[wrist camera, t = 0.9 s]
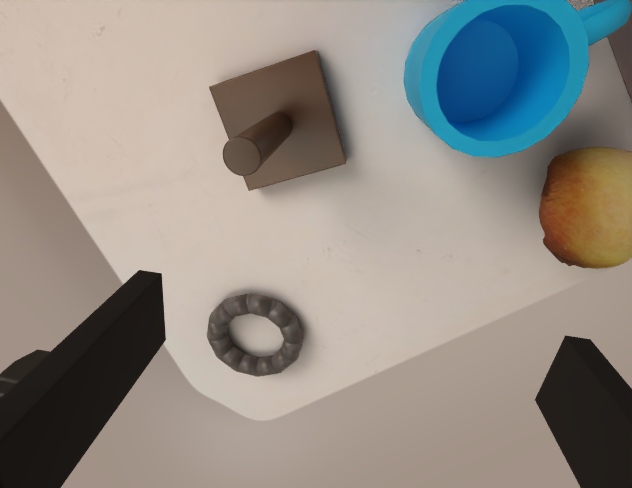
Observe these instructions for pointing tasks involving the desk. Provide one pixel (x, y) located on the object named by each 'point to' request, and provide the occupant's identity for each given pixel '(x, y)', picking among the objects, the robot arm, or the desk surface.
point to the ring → (261, 308)
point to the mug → (504, 70)
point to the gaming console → (623, 49)
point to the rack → (279, 122)
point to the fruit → (589, 207)
